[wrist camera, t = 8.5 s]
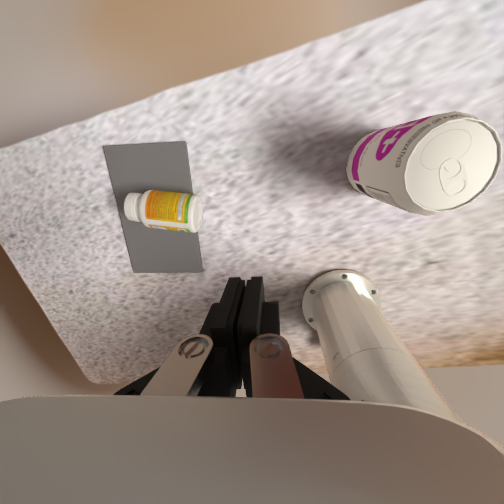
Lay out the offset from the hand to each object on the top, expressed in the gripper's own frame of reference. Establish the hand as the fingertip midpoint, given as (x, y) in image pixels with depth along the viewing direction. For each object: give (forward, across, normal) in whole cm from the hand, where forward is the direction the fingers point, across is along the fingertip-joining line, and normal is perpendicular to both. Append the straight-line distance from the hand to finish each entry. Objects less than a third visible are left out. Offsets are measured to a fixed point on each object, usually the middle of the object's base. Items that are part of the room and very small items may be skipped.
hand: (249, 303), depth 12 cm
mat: (+26, +17, 0) cm, 31 cm away
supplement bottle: (+22, +9, 0) cm, 24 cm away
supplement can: (+26, -15, -5) cm, 31 cm away
